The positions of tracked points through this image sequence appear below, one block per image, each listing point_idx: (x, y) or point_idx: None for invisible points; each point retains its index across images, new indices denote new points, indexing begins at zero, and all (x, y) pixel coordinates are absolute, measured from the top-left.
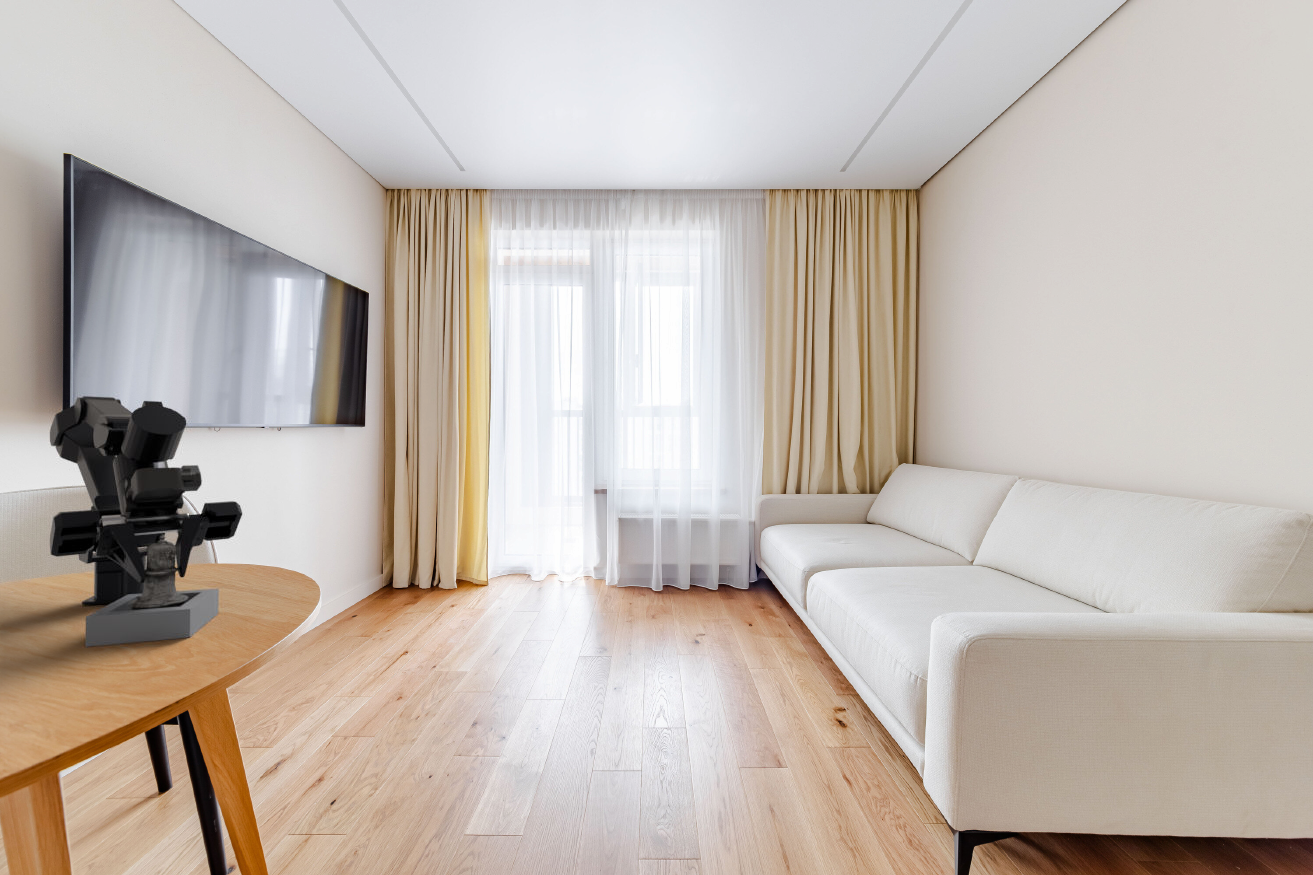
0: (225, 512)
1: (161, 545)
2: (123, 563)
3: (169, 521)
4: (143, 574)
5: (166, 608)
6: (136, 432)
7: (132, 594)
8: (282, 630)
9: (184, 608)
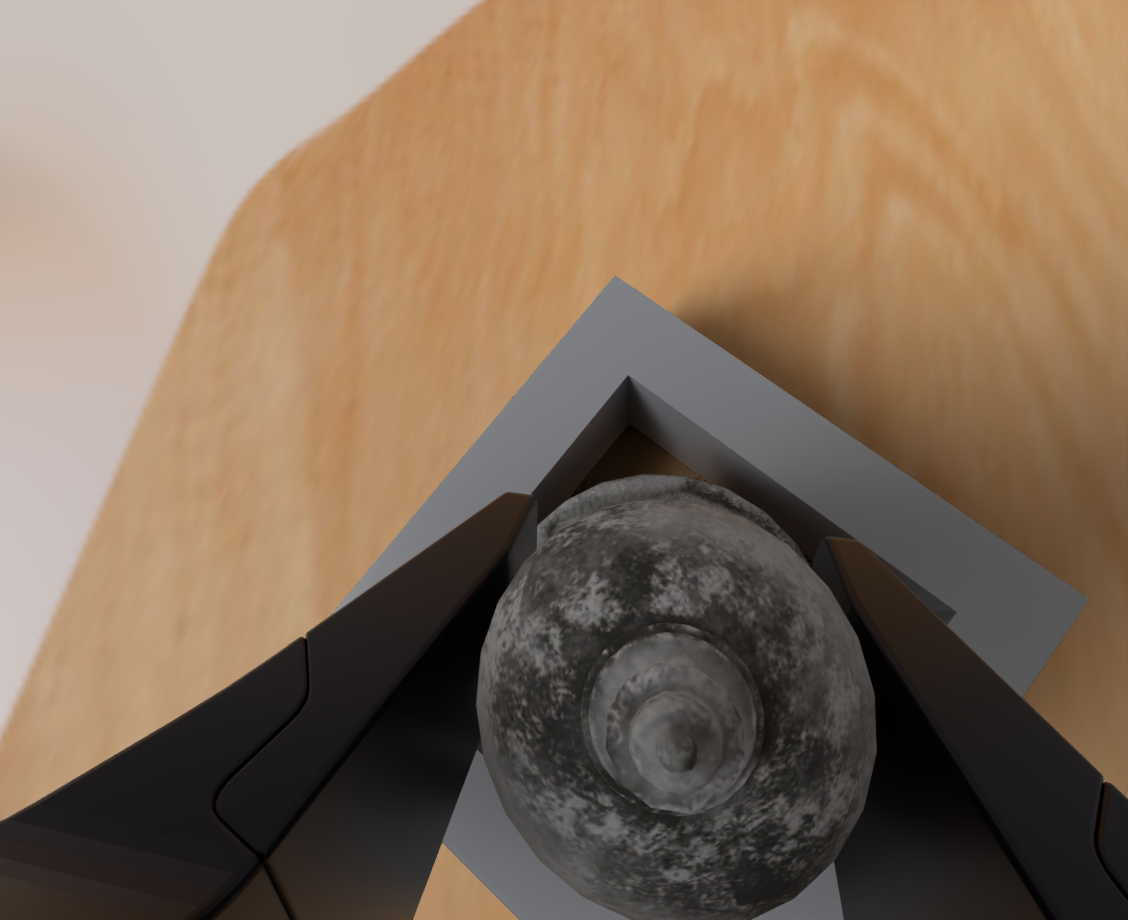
0: None
1: (727, 545)
2: None
3: None
4: (848, 547)
5: (694, 396)
6: None
7: None
8: (361, 138)
9: (631, 310)
